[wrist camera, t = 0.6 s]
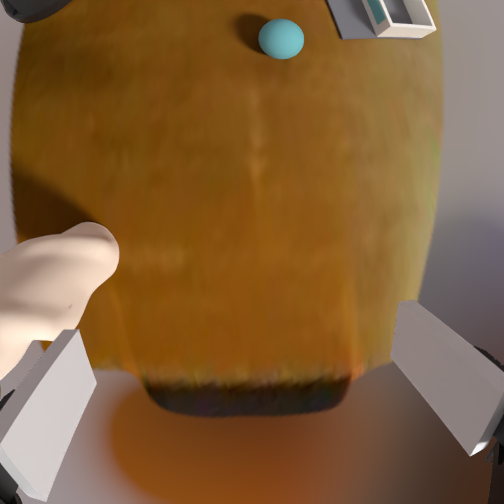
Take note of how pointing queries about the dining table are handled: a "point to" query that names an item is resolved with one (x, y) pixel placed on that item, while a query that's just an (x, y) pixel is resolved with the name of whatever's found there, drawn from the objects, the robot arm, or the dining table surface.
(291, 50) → the ball teal
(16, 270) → the water bottle
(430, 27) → the white square bin
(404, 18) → the mat
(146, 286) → the dining table surface
